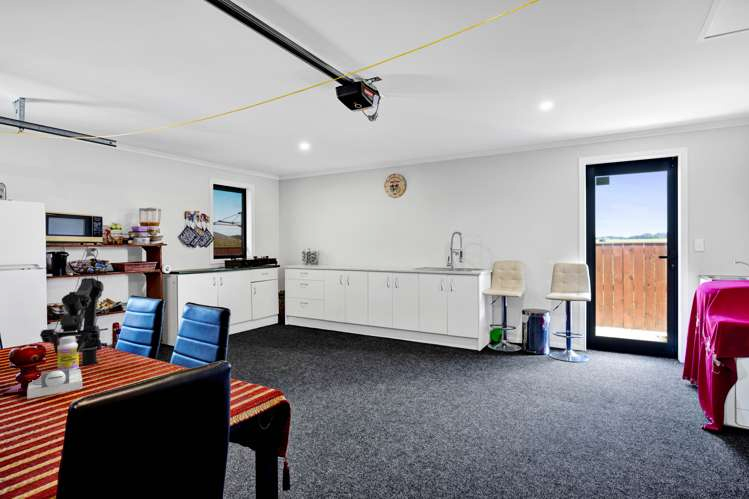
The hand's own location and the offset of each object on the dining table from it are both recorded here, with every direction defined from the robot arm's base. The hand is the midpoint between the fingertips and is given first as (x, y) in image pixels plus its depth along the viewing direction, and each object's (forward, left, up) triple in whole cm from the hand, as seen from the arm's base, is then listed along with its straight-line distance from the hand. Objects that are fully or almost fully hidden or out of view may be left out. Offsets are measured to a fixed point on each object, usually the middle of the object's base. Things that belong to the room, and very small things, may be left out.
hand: (67, 352), depth 157 cm
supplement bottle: (-1, 0, -7) cm, 7 cm away
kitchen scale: (-3, -4, -13) cm, 14 cm away
